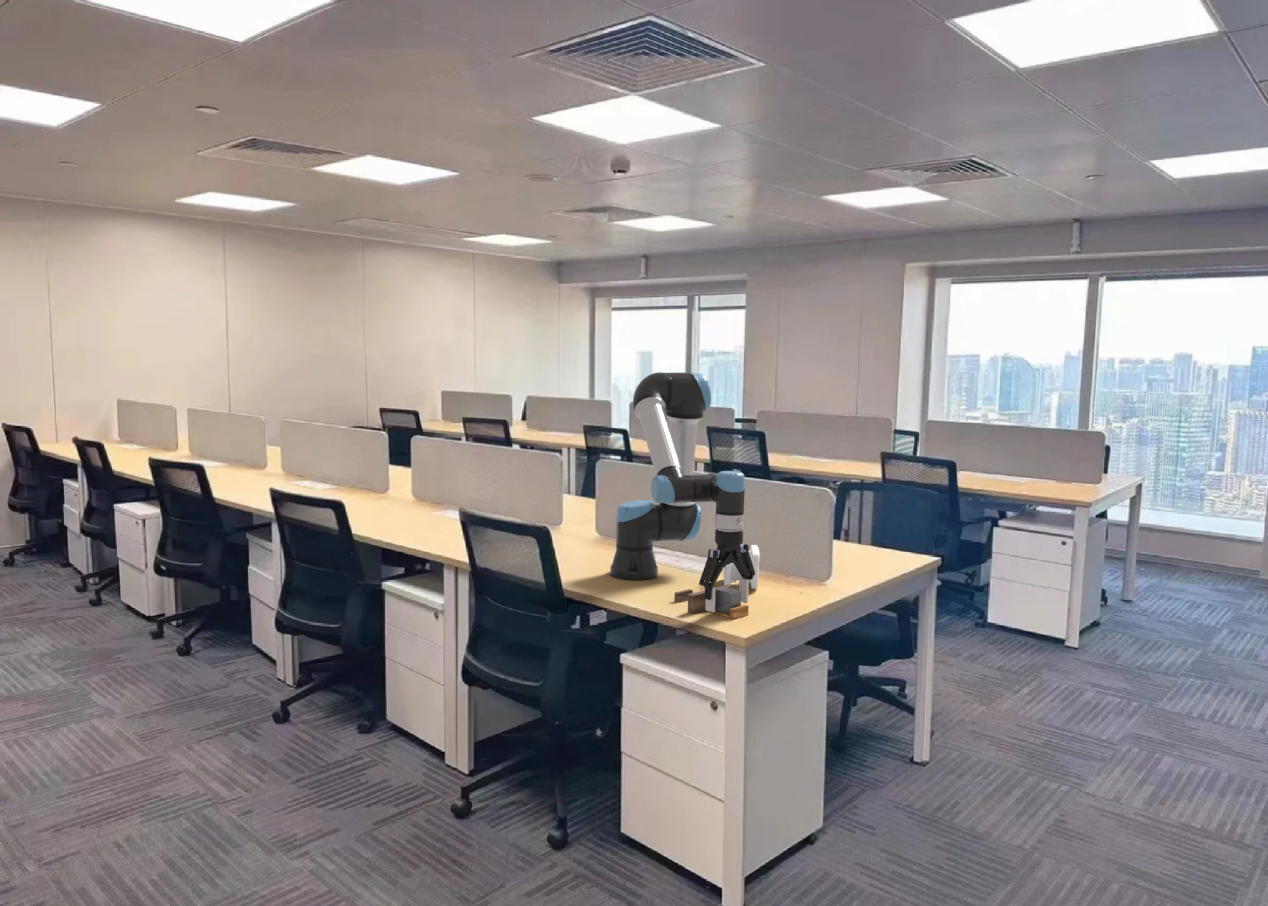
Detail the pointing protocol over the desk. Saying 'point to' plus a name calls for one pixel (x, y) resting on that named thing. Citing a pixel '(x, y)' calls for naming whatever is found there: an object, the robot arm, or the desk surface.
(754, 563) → the cable organizer
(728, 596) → the block
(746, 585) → the robot arm
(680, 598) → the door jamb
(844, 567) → the desk surface
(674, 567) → the desk surface
